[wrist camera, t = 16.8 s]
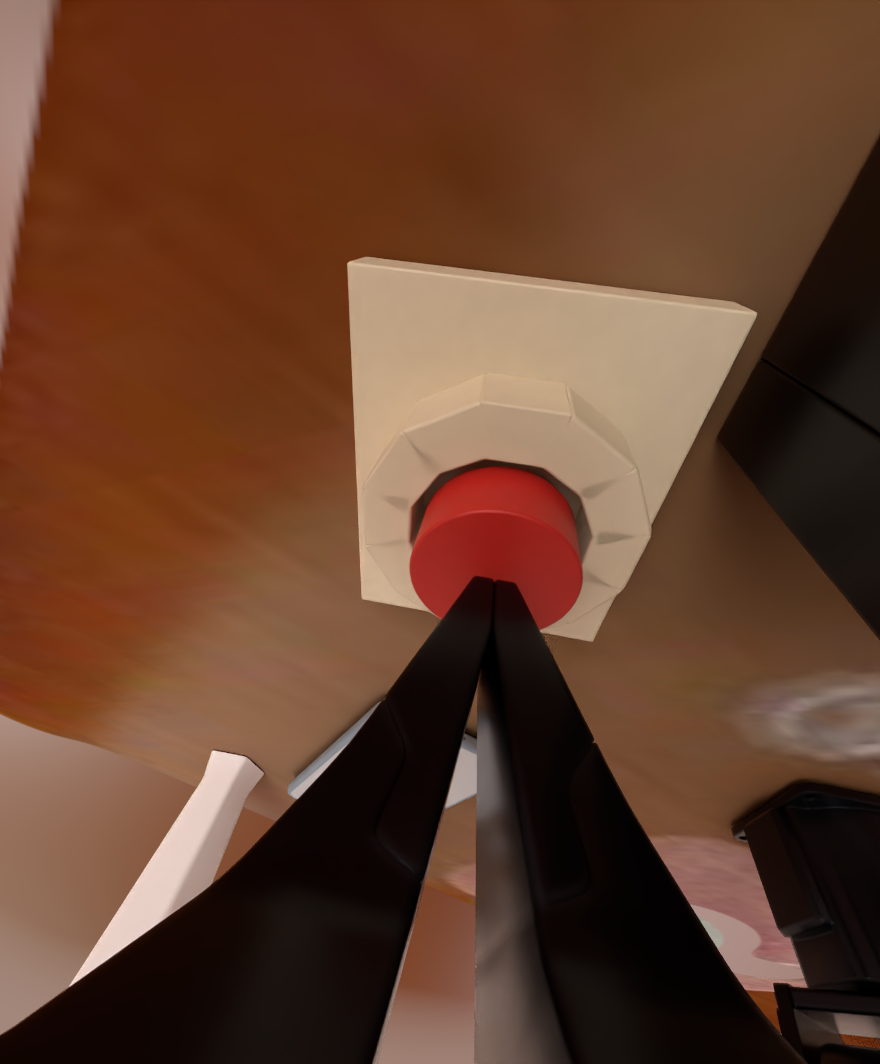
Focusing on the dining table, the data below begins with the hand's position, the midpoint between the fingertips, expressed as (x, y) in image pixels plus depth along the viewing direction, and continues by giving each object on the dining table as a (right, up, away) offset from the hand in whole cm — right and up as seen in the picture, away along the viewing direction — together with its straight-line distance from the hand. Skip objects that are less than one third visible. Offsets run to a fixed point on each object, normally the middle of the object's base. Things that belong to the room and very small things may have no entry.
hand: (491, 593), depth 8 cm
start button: (0, +1, +2) cm, 2 cm away
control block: (+1, +3, +4) cm, 5 cm away
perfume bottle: (-15, -15, +21) cm, 30 cm away
